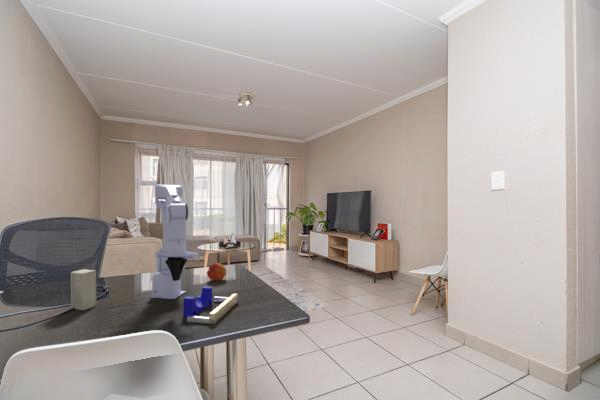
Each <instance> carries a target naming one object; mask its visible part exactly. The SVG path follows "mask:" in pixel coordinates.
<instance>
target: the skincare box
mask: <svg viewBox="0 0 600 400" xmlns="http://www.w3.org/2000/svg"><path fill="white" fill-rule="evenodd" d="M70 300H71V301H70V302H71V303H70V306H71V309H73V308H75V309H74V310H80V311H86V310H88V309H91V308H95V307H97V270H95V269H87V268H86V269H85V268H84V269H79V270H74V271H71V272H70Z"/></svg>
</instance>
